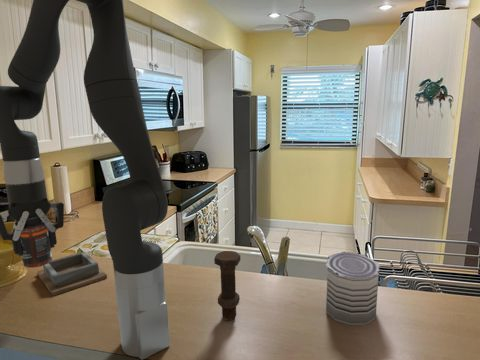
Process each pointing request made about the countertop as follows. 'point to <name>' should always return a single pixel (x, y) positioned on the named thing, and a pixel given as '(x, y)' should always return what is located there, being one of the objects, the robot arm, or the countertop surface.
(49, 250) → the supplement bottle
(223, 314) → the bolt
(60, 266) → the socket board
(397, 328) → the countertop surface
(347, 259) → the can
